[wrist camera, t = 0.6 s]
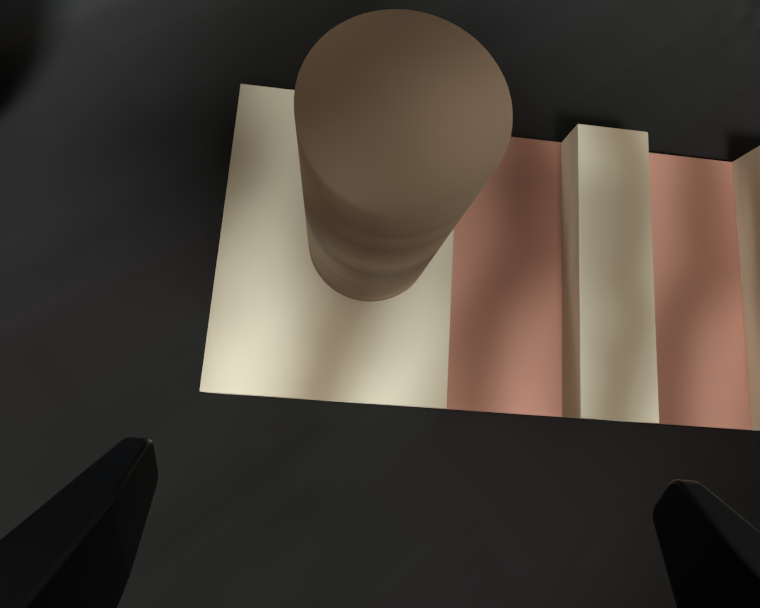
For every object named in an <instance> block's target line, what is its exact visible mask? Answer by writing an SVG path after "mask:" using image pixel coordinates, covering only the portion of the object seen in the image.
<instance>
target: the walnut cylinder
mask: <svg viewBox="0 0 760 608" xmlns="http://www.w3.org/2000/svg"><path fill="white" fill-rule="evenodd" d="M294 116H295V126H296V135H297V144H298V153H299V162H300V172H301V181H302V190H303V199H304V208H305V218H306V227H307V236H308V245H309V252H310V257H311V260H312V263H313V265H314V267H315V269H316V271H317V272H318V274H319V276H320V277H321V278H322V279H323V280H324V282H325V283H326V284H327V285H329V286H330V287H331V288H332V289H334V290H335V291H336V292H338V293H340V294H342V295H344V296H346V297H349V298H351V299H355V300H359V301H368V302H371V301H382V300H386V299H390V298H393V297H395V296H397V295H399V294H401V293H403V292H404V291H406V290H407V289H408V288H410V287H411V286H412V285H413V284H414V283H415V282H416V281H417V279H418V278H419V277H420V275H421V274H422V272H423V271H424V270H425V268H426V267H427V265H428V264H429V263H430V261H431V260H432V258H433V257H434V255H435V254H436V253H437V251H438V250H439V248H440V247H441V246H442V244H443V243H444V241H445V240H446V239H447V237H448V236H449V234H450V233H451V232H452V230H453V229H454V227H455V226H456V225H457V223H458V222H459V220H460V219H461V218H462V216H463V215H464V213H465V212H466V211H467V209H468V208H469V206H470V205H471V204H472V202H473V201H474V199H475V198H476V197H477V195H478V194H479V192H480V191H481V189H482V188H483V187H484V185H485V184H486V182H487V181H488V180H489V178H490V177H491V175H492V174H493V173H494V171H495V170H496V168H497V167H498V165H499V164H500V163H501V161H502V159H503V157H504V155H505V153H506V150H507V147H508V144H509V141H510V137H511V131H512V124H513V110H512V101H511V97H510V93H509V89H508V86H507V83H506V81H505V78H504V76H503V74H502V72H501V70H500V68H499V66H498V65H497V63H496V62H495V60H494V59H493V58H492V56H491V55H490V53H489V52H488V51H487V50H486V49H485V48H484V47H483V46H482V45H481V44H480V43H479V42H478V41H477V40H476V39H475V38H474V37H472V36H471V35H470V34H469V33H467V32H466V31H464V30H463V29H461V28H460V27H458V26H456V25H455V24H453V23H451V22H449V21H447V20H445V19H442V18H439V17H437V16H434V15H431V14H427V13H424V12H420V11H413V10H406V9H387V10H377V11H372V12H368V13H364V14H361V15H358V16H355V17H352V18H350V19H348V20H346V21H344V22H342V23H340V24H339V25H337V26H336V27H334V28H333V29H331V30H330V31H328V32H327V33H326V34H325V35H324V36H323V37H322V38H320V39H319V41H318V42H317V43H316V44H315V45H314V46H313V48H312V49H311V50H310V52H309V53H308V55H307V56H306V58H305V60H304V62H303V64H302V66H301V68H300V71H299V73H298V77H297V81H296V84H295V91H294Z"/></svg>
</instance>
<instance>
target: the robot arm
mask: <svg viewBox="0 0 760 608" xmlns="http://www.w3.org/2000/svg"><path fill="white" fill-rule="evenodd" d="M157 479H158V469H157V463H156V457H155V450H154V445H153V442H152V441H151V440H150V439H145V438H132V437H129V438H125V439H123V440H122V441H120V442H119V443H118V444H117V445H115V446H114V447H113V448H112V449H111V450H109V451H108V452H107V453H106V454H104V455H103V456H102V457H101V458H100V459H98V460H97V461H96V462H95V463H93V464H92V465H91V466H90V467H89V468H87V469H86V470H85V471H84V472H82V473H81V474H80V475H79V476H78V477H76V478H75V479H74V480H73V481H72V482H70V483H69V484H68V485H67V486H65V487H64V488H63V489H62V490H61V491H59V492H58V493H57V494H56V495H54V496H53V497H52V498H51V499H50V500H48V501H47V502H46V503H45V504H44V505H42V506H41V507H40V508H39V509H37V510H36V511H35V512H34V513H33V514H31V515H30V516H29V517H28V518H26V519H25V520H24V521H23V522H22V523H20V524H19V525H18V526H17V527H15V528H14V529H13V530H12V531H11V532H9V533H8V534H7V535H6V536H5V537H3V538H2V539H1V540H0V608H117V606H118V604H119V601H120V599H121V596H122V594H123V592H124V589H125V586H126V584H127V581H128V579H129V576H130V573H131V569H132V566H133V563H134V560H135V556H136V553H137V550H138V546H139V543H140V539H141V536H142V533H143V529H144V526H145V522H146V519H147V516H148V512H149V509H150V506H151V502H152V499H153V495H154V492H155V489H156V485H157ZM653 521H654V525H655V529H656V533H657V536H658V540H659V544H660V547H661V551H662V555H663V558H664V562H665V566H666V569H667V573H668V577H669V581H670V584H671V588H672V592H673V595H674V598H675V602H676V605H677V608H760V532H759V531H758V530H757V529H756V528H755V527H753V526H752V525H751V524H750V523H749V522H747V521H746V520H745V519H744V518H742V517H741V516H740V515H739V514H738V513H736V512H735V511H734V510H733V509H731V508H730V507H729V506H728V505H727V504H725V503H724V502H723V501H722V500H720V499H719V498H718V497H717V496H716V495H714V494H713V493H712V492H711V491H709V490H708V489H707V488H706V487H705V486H703V485H702V484H701V483H699V482H696V481H692V480H679V479H676V480H673V481H671V482H670V483H669V484H668V486H667V488H666V489H665V491H664V492H663V494H662V495H661V497H660V499H659V500H658V502H657V503H656V505H655V507H654V510H653Z"/></svg>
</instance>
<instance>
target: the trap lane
mask: <svg viewBox="0 0 760 608" xmlns="http://www.w3.org/2000/svg"><path fill="white" fill-rule="evenodd" d="M294 91H295V90H289V89H280V88H272V87H264V86H255V85H247V84H241V85H240V93H239V100H238V108H237V115H236V123H235V130H234V138H233V145H232V153H231V160H230V168H229V175H228V183H227V190H226V197H225V205H224V212H223V220H222V227H221V235H220V242H219V250H218V257H217V265H216V272H215V280H214V287H213V294H212V302H211V309H210V317H209V324H208V332H207V339H206V347H205V354H204V362H203V369H202V377H201V384H200V391H201V392H209V393H222V394H237V395H251V396H266V397H280V398H295V399H309V400H324V401H338V402H352V403H367V404H381V405H396V406H410V407H425V408H439V409H454V410H468V411H483V412H497V413H512V414H526V415H540V416H555V417H569V418H584V419H598V420H613V421H627V422H642V423H656V424H671V425H685V426H700V427H714V428H728V429H743V430H757V431H760V146H758V147H757V148H755V149H753V150H752V151H750V152H748V153H747V154H745V155H743V156H742V157H740V158H738V159H737V160H735V161H733V162H726V161H718V160H709V159H700V158H692V157H683V156H674V155H666V154H657V153H649V150H648V132H642V131H634V130H625V129H617V128H608V127H600V126H592V125H583V124H577V125H576V127H575V128H574V129H573V130H572V131H571V132H570V133H569V134H568V136H567V137H566V138H565V139H564V140H563V141H562V142H553V141H544V140H536V139H527V138H518V137H510V141H509V144H508V147H507V150H506V153H505V155H504V157H503V159H502V161H501V163H500V164H499V165H498V167H497V168H496V170H495V171H494V173H493V174H492V175H491V177H490V178H489V180H488V181H487V182H486V184H485V185H484V187H483V188H482V189H481V191H480V192H479V194H478V195H477V197H476V198H475V199H474V201H473V202H472V204H471V205H470V206H469V208H468V209H467V211H466V212H465V213H464V215H463V216H462V218H461V219H460V220H459V222H458V223H457V225H456V226H455V227H454V229H453V230H452V232H451V233H450V234H449V236H448V237H447V239H446V240H445V241H444V243H443V244H442V246H441V247H440V248H439V250H438V251H437V253H436V254H435V255H434V257H433V258H432V260H431V261H430V263H429V264H428V265H427V267H426V268H425V270H424V271H423V272H422V274H421V275H420V277H419V278H418V279H417V281H416V282H415V283H414V284H413V285H412V286H411V287H410V288H408V289H407V290H406V291H404V292H403V293H401V294H399V295H397V296H395V297H393V298H390V299H386V300H382V301H371V302H368V301H359V300H355V299H351V298H349V297H346V296H344V295H342V294H340V293H338V292H336V291H335V290H334V289H332V288H331V287H330V286H329V285H327V284H326V283H325V282H324V280H323V279H322V278H321V277H320V276H319V274H318V272H317V271H316V269H315V267H314V265H313V263H312V260H311V257H310V252H309V245H308V236H307V227H306V218H305V208H304V199H303V190H302V181H301V172H300V162H299V153H298V144H297V135H296V126H295V116H294Z"/></svg>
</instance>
